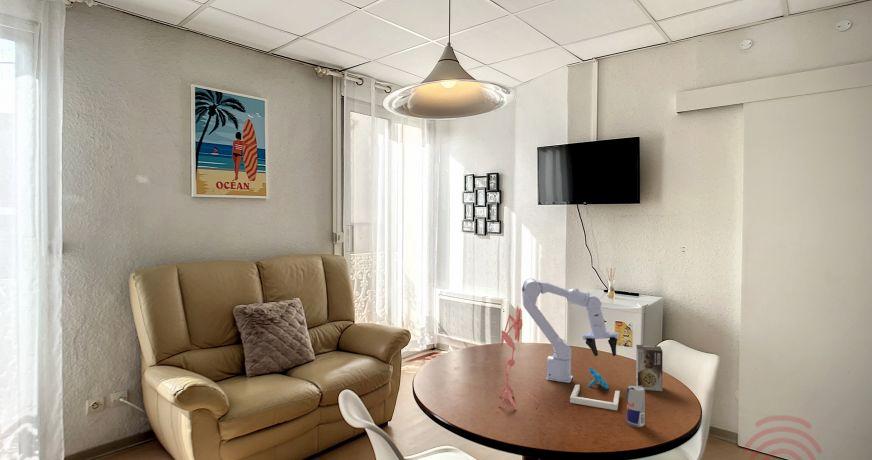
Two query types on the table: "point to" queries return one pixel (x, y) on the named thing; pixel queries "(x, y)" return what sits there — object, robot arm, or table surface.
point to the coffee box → (649, 367)
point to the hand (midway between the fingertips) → (605, 355)
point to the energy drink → (635, 406)
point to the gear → (597, 379)
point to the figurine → (517, 326)
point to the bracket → (593, 402)
